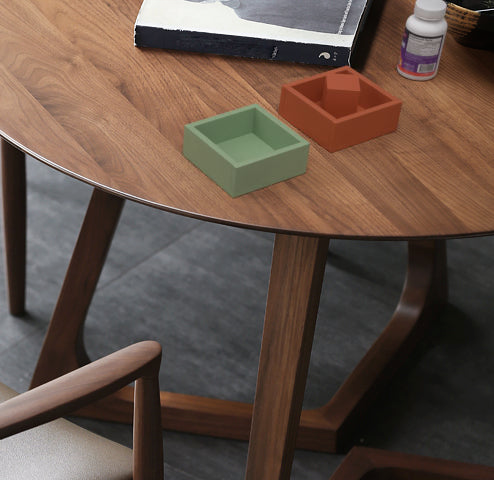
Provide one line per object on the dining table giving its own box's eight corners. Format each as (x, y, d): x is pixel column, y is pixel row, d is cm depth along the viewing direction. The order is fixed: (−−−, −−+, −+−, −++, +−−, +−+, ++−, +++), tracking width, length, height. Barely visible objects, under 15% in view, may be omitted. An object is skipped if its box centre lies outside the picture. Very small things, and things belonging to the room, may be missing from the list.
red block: (351, 110, 137) (358, 74, 134) (353, 126, 135) (360, 90, 131) (320, 108, 138) (326, 72, 134) (321, 124, 135) (327, 88, 131)
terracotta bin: (396, 130, 135) (402, 101, 132) (330, 153, 131) (335, 123, 128) (342, 93, 142) (347, 65, 139) (278, 114, 138) (281, 85, 135)
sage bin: (305, 173, 128) (310, 143, 125) (233, 198, 124) (236, 167, 121) (253, 132, 134) (256, 102, 131) (182, 154, 130) (184, 124, 127)
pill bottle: (404, 58, 149) (418, -9, 143) (441, 69, 147) (458, 0, 141) (390, 74, 146) (404, 6, 139) (428, 85, 144) (444, 16, 137)
